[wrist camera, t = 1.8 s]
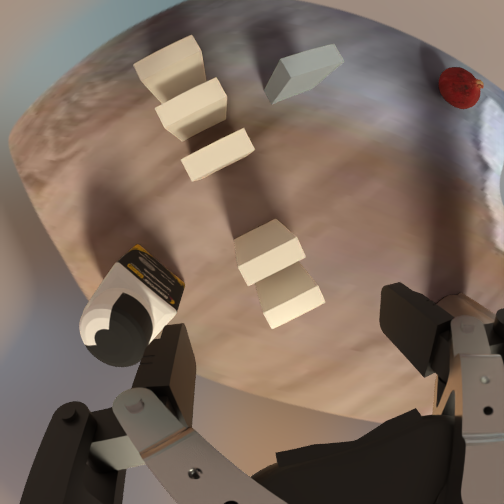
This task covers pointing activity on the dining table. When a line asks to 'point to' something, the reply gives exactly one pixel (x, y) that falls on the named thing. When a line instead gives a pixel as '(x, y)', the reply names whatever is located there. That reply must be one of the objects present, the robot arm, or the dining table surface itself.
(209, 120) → the domino
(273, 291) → the domino
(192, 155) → the domino
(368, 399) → the dining table surface
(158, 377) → the robot arm
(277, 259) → the domino
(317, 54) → the domino
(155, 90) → the domino
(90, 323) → the medicine bottle
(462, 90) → the onion
